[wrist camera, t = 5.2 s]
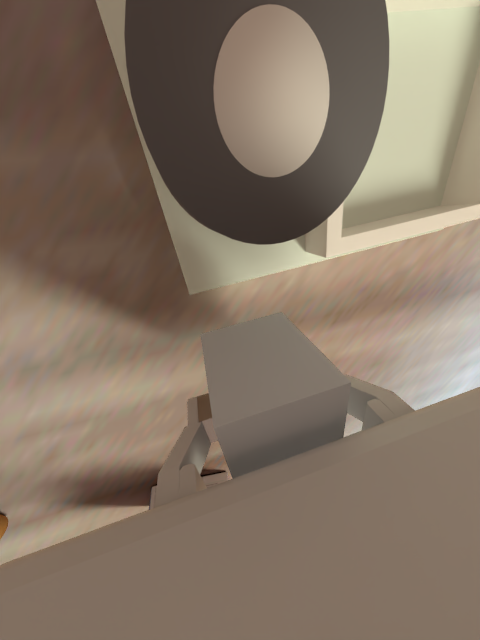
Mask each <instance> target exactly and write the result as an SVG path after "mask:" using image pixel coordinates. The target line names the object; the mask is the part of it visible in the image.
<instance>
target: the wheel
mask: <svg viewBox="0 0 480 640" xmlns="http://www.w3.org/2000/svg"><path fill="white" fill-rule="evenodd" d="M124 37H125V53H126V67H127V73H128V79H129V86H130V92H131V97H132V101H133V105H134V108H135V112H136V116H137V120H138V123H139V126H140V129H141V131H142V134H143V137H144V140H145V142H146V145H147V147H148V150H149V152H150V154H151V156H152V158H153V160H154V162H155V165H156V167H157V169H158V171H159V173H160V175H161V177H162V179H163V181H164V183H165V185H166V186H167V188H168V189H169V191H170V193H171V194H172V195H173V197H174V198H175V199H176V201H177V202H178V203H179V204H180V206H181V207H182V208H183V209H184V210H185V211H186V212H187V213H188V214H189V215H190V216H191V217H193V218H194V219H195V220H196V221H198V222H199V223H200V224H202V225H204V226H205V227H207V228H209V229H211V230H213V231H215V232H217V233H220V234H222V235H224V236H226V237H229V238H231V239H233V240H237V241H240V242H244V243H250V244H257V245H270V244H277V243H283V242H286V241H290V240H293V239H296V238H298V237H300V236H302V235H304V234H306V233H308V232H310V231H311V230H313V229H314V228H316V227H318V226H319V225H320V224H321V223H323V222H324V221H325V220H326V219H327V218H329V217H330V216H331V215H332V214H333V213H334V212H335V211H336V210H337V209H338V207H339V206H340V205H341V204H342V203H343V201H344V200H345V199H346V198H347V196H348V195H349V193H350V192H351V190H352V189H353V187H354V186H355V184H356V183H357V181H358V179H359V177H360V175H361V173H362V172H363V170H364V168H365V166H366V163H367V161H368V159H369V156H370V154H371V152H372V149H373V146H374V143H375V140H376V137H377V134H378V131H379V127H380V123H381V119H382V115H383V111H384V105H385V99H386V93H387V85H388V73H389V28H388V15H387V8H386V2H385V0H126V5H125V30H124Z"/></svg>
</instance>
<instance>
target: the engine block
mask: <svg viewBox="0 0 480 640" xmlns="http://www.w3.org/2000/svg"><path fill="white" fill-rule="evenodd" d="M201 340H202V348H203V355H204V362H205V369H206V376H207V384H208V391H209V398H210V405H211V412H212V420H213V427H214V430H215V433H216V436H217V438H218V441H219V443H220V446H221V449H222V451H223V454H224V457H225V459H226V462H227V465H228V467H229V470H230V472H231V475H232V478H236V477H239V476H241V475H244V474H247V473H250V472H252V471H255V470H258V469H260V468H263V467H266V466H268V465H271V464H274V463H276V462H279V461H282V460H284V459H287V458H290V457H292V456H295V455H298V454H301V453H303V452H306V451H309V450H311V449H314V448H317V447H319V446H322V445H325V444H327V443H330V442H333V441H336V440H338V439H341V438H343V435H344V428H345V421H346V414H347V408H348V401H349V394H350V387H351V382H350V381H349V380H348V379H347V378H346V377H345V376H344V375H343V374H342V373H341V372H340V371H339V370H338V369H337V368H336V367H335V366H334V364H333V363H332V362H331V361H330V360H329V359H328V358H327V357H326V356H325V355H324V354H323V353H322V352H321V351H320V350H319V349H318V348H317V347H316V346H315V345H314V344H313V343H312V342H311V341H310V340H309V339H308V338H307V337H306V336H305V335H304V334H303V333H302V332H301V331H300V330H299V329H298V328H297V327H296V326H295V325H294V324H293V323H292V322H291V321H290V320H289V319H288V318H287V317H286V316H285V315H284V314H283V313H282V312H280V313H276V314H272V315H269V316H265V317H261V318H258V319H254V320H250V321H247V322H243V323H239V324H235V325H232V326H228V327H224V328H221V329H217V330H213V331H210V332H206V333H202V334H201Z"/></svg>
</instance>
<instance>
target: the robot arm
mask: <svg viewBox="0 0 480 640" xmlns="http://www.w3.org/2000/svg"><path fill="white" fill-rule="evenodd" d="M344 376H345V377H346V378H347V379H348V380H349V381H350V382H351V387H350V394H349V401H348V408H347V413H349V414H350V415H352V416H354V417H355V418H357V419H359V420H360V421H362V422H363V426H362V431H360V432H357V433H354V434H352V435H349V436H346V437H344V438H341V439H338V440H336V441H333V442H330V443H327V444H325V445H322V446H319V447H317V448H314V449H311V450H309V451H306V452H303V453H301V454H298V455H295V456H292V457H290V458H287V459H284V460H282V461H279V462H276V463H274V464H271V465H268V466H266V467H263V468H260V469H258V470H255V471H252V472H250V473H247V474H244V475H241V476H239V477H236V478H233V479H231V480H228V481H225V482H223V483H220V484H217V485H215V486H212V487H209V488H207V487H206V485H205V483H204V481H203V479H202V478H201V476H200V474H201V471H202V468H203V465H204V462H205V460H206V457H207V454H208V451H209V448H210V445H211V443H213V442H215V441H218V438H217V436H216V433H215V430H214V427H213V420H212V412H211V405H210V398H209V393H208V394H204V395H201V396H197V397H194V398H191V399H188V402H187V409H188V426H187V427H185V428H184V430H183V432H182V433H181V435H180V437H179V439H178V440H177V442H176V444H175V446H174V447H173V449H172V451H171V453H170V454H169V456H168V458H167V459H166V461H165V463H164V465H163V466H162V468H161V470H160V472H159V473H158V481H157V491H156V500H155V508H153V509H150V510H147V511H144V512H142V513H139V514H136V515H134V516H131V517H128V518H126V519H123V520H120V521H117V522H115V523H112V524H109V525H107V526H104V527H101V528H99V529H96V530H93V531H90V532H88V533H85V534H82V535H80V536H77V537H74V538H72V539H69V540H66V541H63V542H61V543H58V544H55V545H53V546H50V547H47V548H45V549H42V550H39V551H36V552H34V553H31V554H28V555H25V556H23V557H20V558H17V559H14V560H12V561H9V562H7V563H4V564H2V565H0V640H480V387H478V388H475V389H473V390H470V391H467V392H465V393H462V394H459V395H457V396H454V397H451V398H449V399H446V400H443V401H440V402H438V403H435V404H432V405H430V406H427V407H424V408H422V409H419V410H416V411H415V410H414V409H412V408H411V407H410V406H409V405H408V404H407V403H405V402H404V401H403V400H402V399H401V398H399V397H398V396H397V395H396V394H395V393H394V392H392V391H389V390H387V389H384V388H381V387H378V386H376V385H373V384H370V383H368V382H365V381H362V380H360V379H357V378H354V377H351V376H349V375H344Z"/></svg>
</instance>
